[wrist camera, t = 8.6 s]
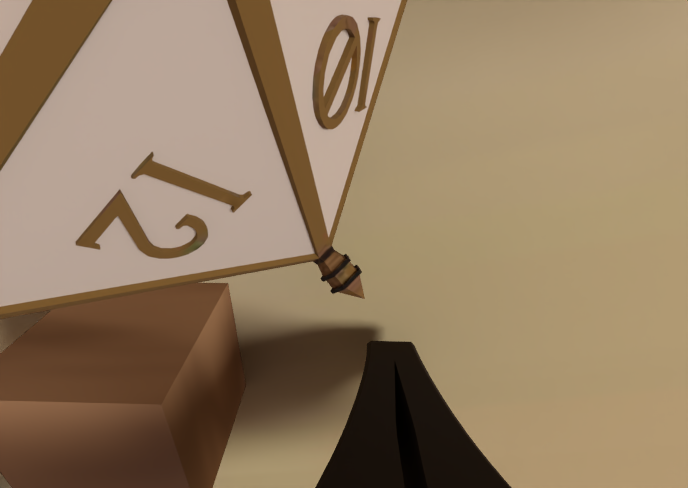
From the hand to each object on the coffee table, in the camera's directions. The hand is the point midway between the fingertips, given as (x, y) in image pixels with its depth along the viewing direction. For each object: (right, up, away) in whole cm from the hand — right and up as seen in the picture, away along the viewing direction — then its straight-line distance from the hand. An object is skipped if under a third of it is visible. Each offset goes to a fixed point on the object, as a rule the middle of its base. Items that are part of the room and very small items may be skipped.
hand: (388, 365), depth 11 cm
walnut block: (-7, +1, +1) cm, 7 cm away
